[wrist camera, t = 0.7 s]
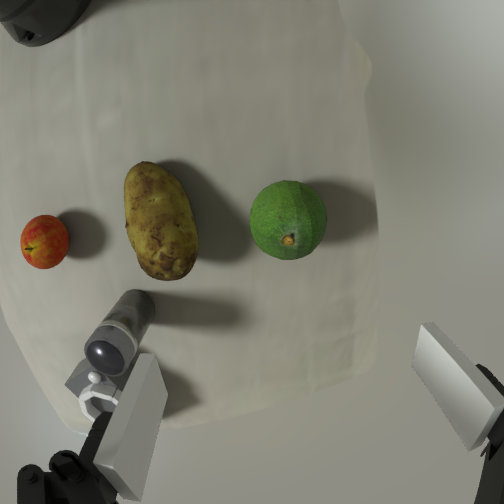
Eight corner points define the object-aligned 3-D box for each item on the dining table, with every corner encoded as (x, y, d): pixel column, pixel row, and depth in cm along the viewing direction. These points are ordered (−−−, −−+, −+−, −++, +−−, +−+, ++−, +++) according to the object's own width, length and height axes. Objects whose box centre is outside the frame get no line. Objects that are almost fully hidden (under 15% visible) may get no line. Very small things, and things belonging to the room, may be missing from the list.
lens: (113, 301, 39) (74, 350, 27) (137, 281, 38) (101, 329, 26) (138, 329, 40) (108, 384, 29) (163, 311, 39) (137, 366, 28)
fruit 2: (316, 241, 37) (346, 277, 26) (251, 246, 37) (255, 287, 26) (312, 175, 35) (345, 184, 23) (245, 180, 35) (246, 191, 23)
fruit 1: (75, 264, 37) (45, 287, 30) (39, 251, 36) (7, 269, 29) (80, 217, 35) (48, 231, 28) (42, 205, 34) (7, 217, 27)
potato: (199, 156, 34) (187, 156, 26) (205, 262, 38) (196, 289, 30) (133, 162, 34) (105, 165, 26) (142, 264, 37) (120, 289, 30)
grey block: (79, 362, 42) (59, 392, 35) (108, 341, 41) (88, 372, 33) (132, 412, 46) (120, 444, 38) (166, 395, 44) (156, 431, 37)
